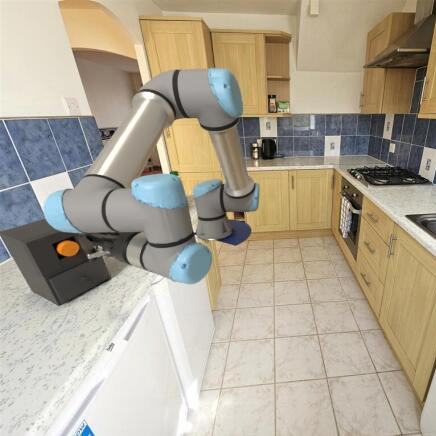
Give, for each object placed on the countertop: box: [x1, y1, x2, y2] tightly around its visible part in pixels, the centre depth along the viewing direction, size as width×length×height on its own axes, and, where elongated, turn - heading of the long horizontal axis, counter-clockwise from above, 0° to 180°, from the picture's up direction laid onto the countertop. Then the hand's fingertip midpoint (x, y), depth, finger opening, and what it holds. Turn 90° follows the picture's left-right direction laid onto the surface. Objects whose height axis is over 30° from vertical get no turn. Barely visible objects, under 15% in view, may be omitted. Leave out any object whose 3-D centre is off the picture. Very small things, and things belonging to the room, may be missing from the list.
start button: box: [56, 240, 79, 256], centre depth 66 cm, size 2×4×4 cm, turn 155°
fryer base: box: [16, 256, 111, 307], centre depth 73 cm, size 16×14×10 cm
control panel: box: [0, 218, 100, 277], centre depth 69 cm, size 15×14×10 cm
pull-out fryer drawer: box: [49, 255, 111, 304], centre depth 72 cm, size 16×12×8 cm
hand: (78, 229), depth 59 cm, fingers closed
